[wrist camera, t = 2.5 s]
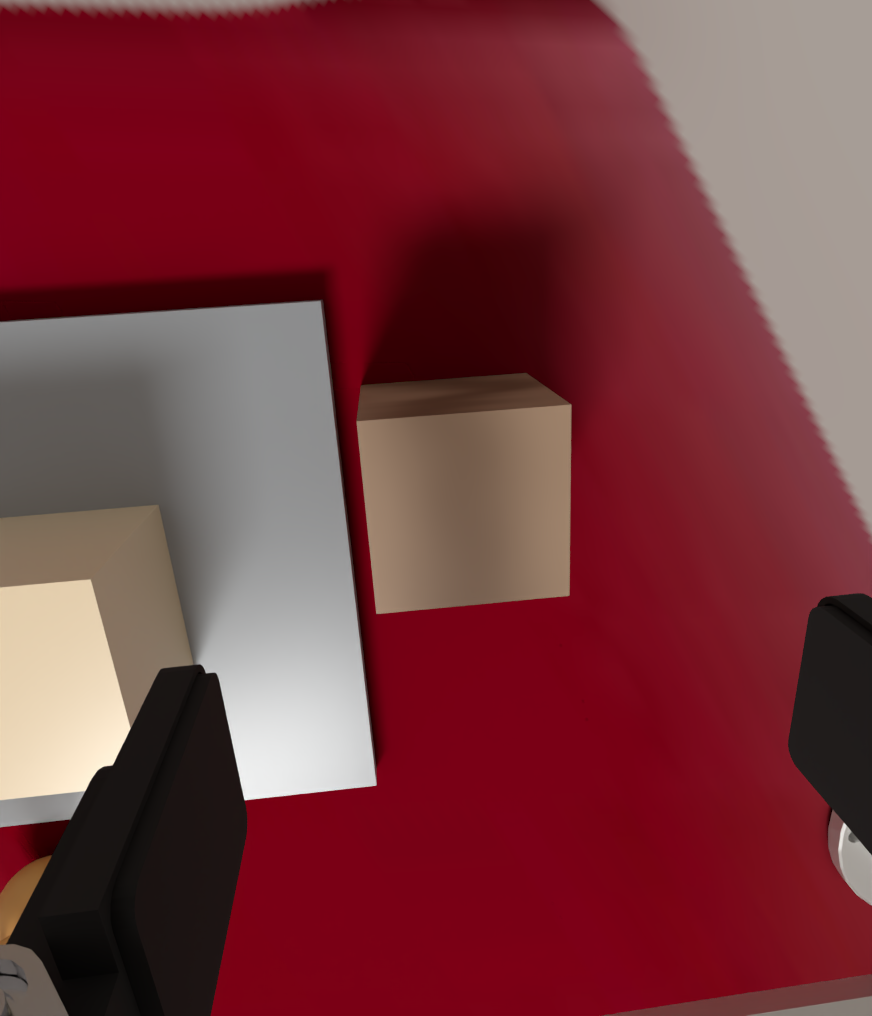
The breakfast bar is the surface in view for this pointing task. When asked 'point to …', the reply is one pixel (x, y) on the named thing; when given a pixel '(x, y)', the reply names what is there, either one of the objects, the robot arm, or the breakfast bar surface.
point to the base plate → (175, 546)
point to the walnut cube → (465, 491)
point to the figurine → (18, 896)
